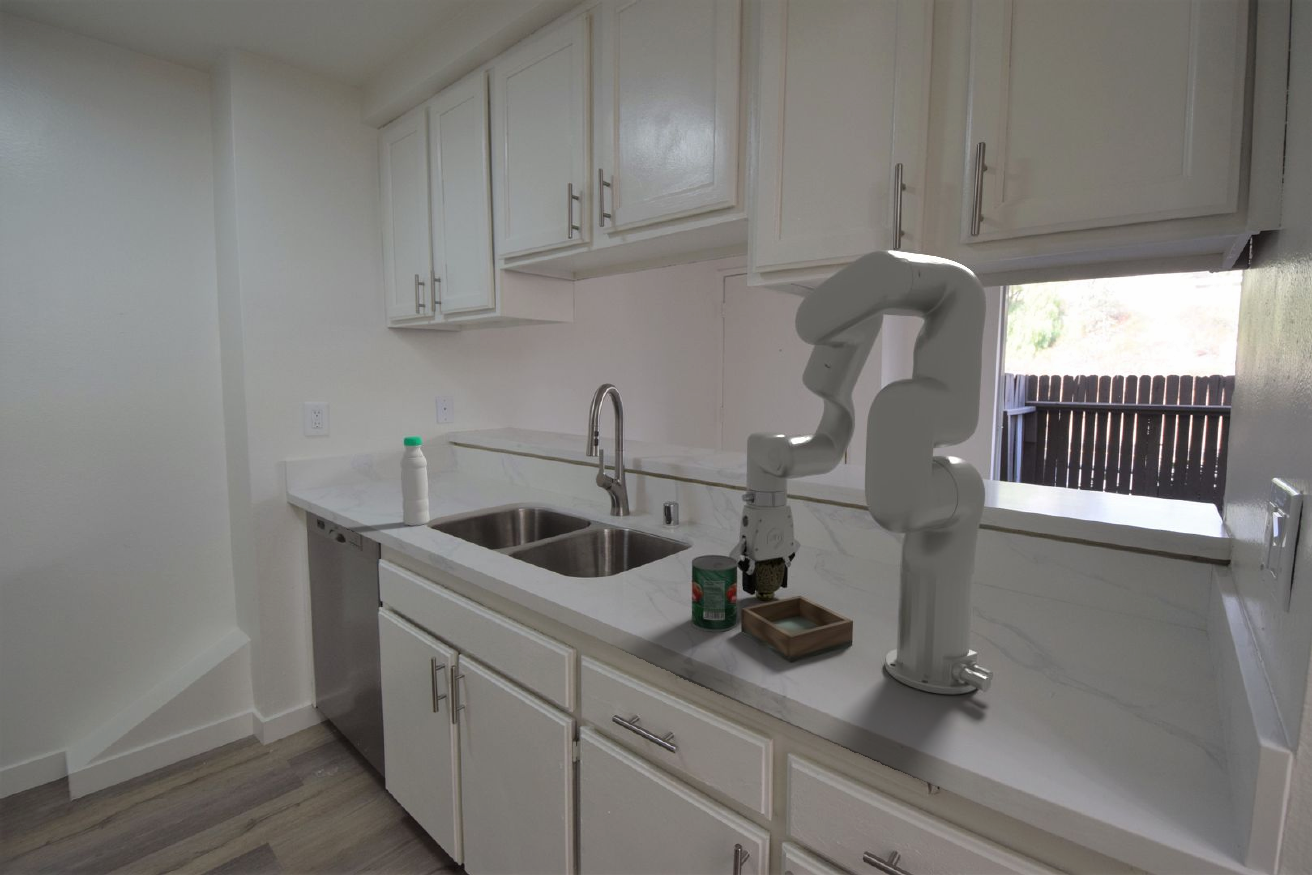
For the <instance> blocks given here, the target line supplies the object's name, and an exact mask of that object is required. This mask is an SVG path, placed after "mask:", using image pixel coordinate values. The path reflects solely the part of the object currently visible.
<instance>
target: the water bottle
mask: <svg viewBox="0 0 1312 875" xmlns="http://www.w3.org/2000/svg"><path fill="white" fill-rule="evenodd" d="M422 442H423V440H422V437H420V436H407V437H405V438H404V439H403V445H404V448H405V451H404V453H403V456H402V458H401V460H400V467H401V473H400V474H401V476H400V480H401V481H400V482H401V493H402V510H403V514H402V515H403V516H402V518H403V519H402V520H403V522H402V523H403V525H404V526H408V525H409V526H411V527H415V526H416V527H417V526H422V525H426V524H428V523H429V522H430V520H431V519H430V518H431V517H430V510H429V505H430V503H429V502H430V501H429V483H428V481H429V479H428V471H427V470H428V469H427V468H428V467H427V464H428V460H427V458H426V456H424V453H423V451H422V450H421V447H422V444H423V443H422Z"/></svg>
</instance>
